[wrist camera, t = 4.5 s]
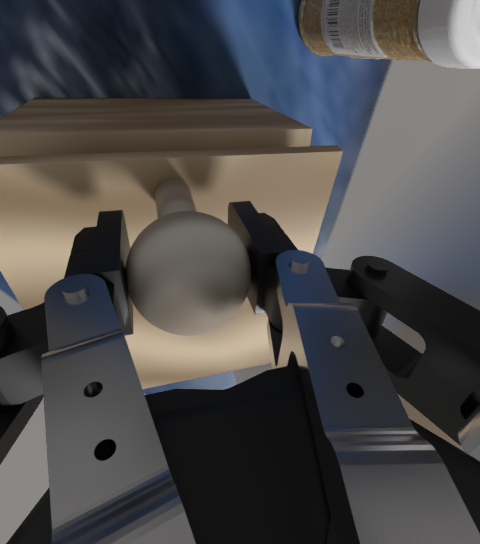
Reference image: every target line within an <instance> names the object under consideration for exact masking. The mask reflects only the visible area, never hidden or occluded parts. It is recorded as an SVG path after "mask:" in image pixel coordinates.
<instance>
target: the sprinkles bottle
mask: <svg viewBox="0 0 480 544" xmlns="http://www.w3.org/2000/svg"><path fill="white" fill-rule="evenodd" d="M298 22H299V31H300V34H301V37H302V40H303V42H304V44H305V45H306V46H307V48H308V49H309V50H310V51H311V52H313V53H315V54H317V55H319V56H332V55H344V56H349V57H354V58H366V59H382V58H383V59H397V60H401V59H405V60H426V61H430V62H433V63H435V64H437V65H439V66H443V67H448V68H466V69H478V68H479V69H480V0H302V1H301V4H300V7H299V16H298Z"/></svg>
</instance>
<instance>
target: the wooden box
mask: <svg viewBox="0 0 480 544" xmlns="http://www.w3.org/2000/svg"><path fill="white" fill-rule="evenodd" d="M311 135H312V128H310V127H308V126H306V125H304V124H302V123H300V122H298V121H296V120H294V119H291V118H289V117H287V116H285V115H283V114H281V113H279V112H277V111H275V110H273V109H271V108H269V107H267V106H265V105H263V104H261V103H259V102H257V101H255V100H253V99H197V98H33V99H32V100H30V101H28V102H27V103H25V104H23V105H22V106H20V107H18V108H17V109H15V110H14V111H12V112H10V113H9V114H7V115H5V116H4V117H2V118H0V157H4V156H34V155H64V154H94V153H124V152H154V151H184V150H214V149H244V148H274V147H304V146H310V142H311Z"/></svg>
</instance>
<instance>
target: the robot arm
mask: <svg viewBox="0 0 480 544" xmlns="http://www.w3.org/2000/svg"><path fill="white" fill-rule="evenodd" d="M228 225H229V226H230V227H231V228H232V229H233V230H234V231H235V232H236V233H237V234H238V236H239V237H240V238H241V240H242V241H243V243H244V245H245V247H246V249H247V252H248V255H249V258H250V263H251V271H252V272H251V284H250V288H249V292H248V295H247V298H248V300H249V302H250V304H251V307H252V309H253V311H254V314H255V315H258V314H264V313H266V314H267V316H268V322H267V334H268V341H269V349H270V356H271V363H272V369H270V370H266V371H264V372H262V373H260V374H258V375H256V376H254V377H252V378H250V379H248V380H245V381H243V382H241V383H239V384H237V385H235V386H233V387H231V388H229V389H225V390H201V389H173V390H168V391H164V392H159V393H154V394H149V395H144V392H143V389H142V386H141V383H140V380H139V377H138V374H137V371H136V368H135V365H134V362H133V359H132V356H131V354H130V351H129V348H128V345H127V342H126V339H125V335H131V334H133V302H132V300H131V299H130V296H129V293H128V290H127V285H126V277H125V269H126V261H127V257H128V254H129V251H130V244H129V238H128V233H127V228H126V222H125V217H124V213H123V210H112V211H99V214H98V220H97V226H95V227H84V228H83V229H82V230H81V231H80V232H79V233H78V234H77V235H76V236H75V238H74V242H73V247H72V249H71V255H70V257H69V261H68V264H67V268H66V272H65V276H64V278H63V279H61V280H59V281H57V282H56V283H54V284H53V285H52V286H50V287H49V289H48V290H47V291H46V293H45V296H44V303H42V304H40V305H37V306H35V307H32V308H29V309H26V310H23V311H20V312H17V313H14V314H11V315H8V316H7V314H6V312H5V311H4V309H3V308H2V307H0V464H1V463H2V461H3V459H4V458H5V457H6V455H7V454H8V452H9V450H10V449H11V447H12V445H13V444H14V443H15V441H16V439H17V438H18V436H19V435H20V433H21V432H22V430H23V429H24V427H25V426H26V424H27V422H28V421H29V419H30V418H31V416H32V415H33V413H34V412H35V410H36V409H37V407H38V405H39V404H40V402H41V401H42V398H43V397H44V411H45V425H46V442H47V458H48V471H49V472H48V473H49V488H48V490H47V491H46V492H45V494H44V495H43V496H42V498H41V499H40V500H39V502H38V503H37V504H36V505H35V507H34V508H33V509H32V511H31V512H30V514H29V515H28V516H27V517H26V519H25V520H24V521H23V523H22V524H21V525H20V526H19V528H18V529H17V530H16V532H15V533H14V534H13V536H12V537H11V538H10V540H9V541H8V542H7V543H6V544H480V311H479V310H477V309H475V308H474V307H472V306H470V305H468V304H466V303H465V302H463V301H461V300H459V299H457V298H455V297H454V296H452V295H450V294H448V293H446V292H445V291H443V290H441V289H439V288H437V287H435V286H434V285H432V284H430V283H428V282H426V281H424V280H422V279H421V278H419V277H417V276H415V275H413V274H412V273H410V272H408V271H406V270H404V269H402V268H401V267H399V266H397V265H395V264H393V263H392V262H390V261H388V260H385V259H383V258H379V257H374V256H361V257H358V258H356V259H355V260H353V262H352V265H351V268H350V270H343V269H332V268H325V266H324V264H323V262H322V260H321V259H320V258H319V257H317V256H316V255H314V254H312V253H309V252H306V251H302V250H298V249H297V248H296V246H295V245H294V244H293V242H292V241H291V240H290V238H289V237H288V236H287V234H285V232H284V230H283V229H282V228H280V225H279V224H278V223H277V221H276V220H275V219H274V218H273V217H271V216H269V215H267V214H266V213H258V212H257V210H256V209H255V207H254V206H253V204H252V203H251V202H250V201H239V202H230V203H229V205H228ZM387 312H388V313H390V314H391V315H392V316H394V317H395V318H397V319H398V320H400V321H401V322H403V323H404V324H406V325H407V326H409V327H411V328H412V329H413V330H415V331H416V332H418V333H419V334H420V335H421V336H422V337H423V339H424V341H425V344H426V349H425V351H424V353H423V354H422V353H420V352H419V351H417V350H416V349H414V348H413V347H411V346H410V345H409V344H407V343H406V342H404V341H403V340H402V339H400V338H399V337H397V336H396V335H395V334H393V333H392V332H390V331H389V330H387V329H386V328H385V327H383V326H382V323H383V321H384V319H385V316H386V314H387ZM397 393H398V394H399V395H400V396H401V397H403V398H404V399H405V400H406V401H407V402H409V403H410V404H411V405H412V406H413V407H415V408H416V409H417V410H418V411H419V412H421V413H422V414H423V415H424V416H425V417H427V418H428V419H429V420H430V421H431V422H433V423H434V424H435V425H436V426H437V427H439V428H440V429H441V430H442V431H443V432H445V433H446V434H447V435H448V436H449V437H451V438H452V439H453V440H454V441H455V442H457V443H458V444H459V445H460V446H461V447H462V449H463V450H464V451H462V450H460V449H459V448H457V447H455V446H453V445H452V444H450V443H449V442H447V441H445V440H444V439H442V438H440V437H439V436H437V435H435V434H434V433H432V432H430V431H429V430H427V429H425V428H424V427H422V426H420V425H419V424H417V423H415V422H414V421H412V420H410V419H409V417H408V415H407V413H406V411H405V409H404V407H403V405H402V402H401V400H400V398H399V396H398V394H397Z"/></svg>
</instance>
